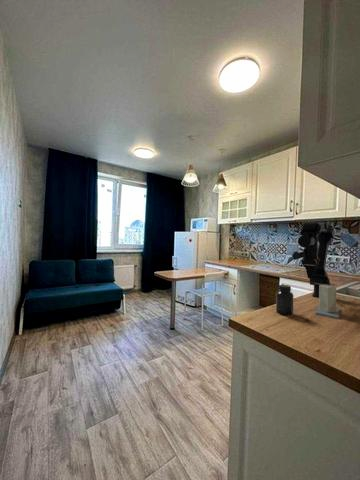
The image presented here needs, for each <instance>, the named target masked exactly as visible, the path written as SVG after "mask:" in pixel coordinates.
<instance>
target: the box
mask: <svg viewBox="0 0 360 480" xmlns="http://www.w3.org/2000/svg"><path fill="white" fill-rule="evenodd" d="M318 300H319V301H318V304H319V309H321V310H323V311H326V312H336V307H337V287H336V286H333V285H331V284H330V285H319V297H318Z"/></svg>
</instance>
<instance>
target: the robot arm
mask: <svg viewBox="0 0 360 480" xmlns="http://www.w3.org/2000/svg"><path fill="white" fill-rule="evenodd" d="M299 235H300V237H299V238H298V240H297V244H298V246H300V247H301V248H303V250H302V251H300V252H299V251H293V253H292V254H291V257H292V259H293V261H296V260H299V259H301V261H300V262H301V263H300V264H301V266H302V267H304V268H305V272H306V275H307V279H309V284H310V286H313V293H312V295H311V296H312V297H314V298H319V285H330V286H331V281H330V278H329V274H328V273H327V270H326V267H327V266H326V265H327V259H328V252H329V246H330V245H331V244H332V243H333V241H334V239H335V238H336V237H335V230H334V228H333V227H331V226H330V225H329V223H328V222H319V221H316V222H315V221H314V222H311V221H310V222H304V223H303V225H302V227H301V230H300V233H299Z"/></svg>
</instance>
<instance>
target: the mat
mask: <svg viewBox="0 0 360 480" xmlns="http://www.w3.org/2000/svg"><path fill="white" fill-rule="evenodd" d="M315 315H318V316H322V317H329V318H331V319H332V318H333V319H337V320H339V319H340V308H339V307H337V306H336V312H326V311H323V310H321V309H319V303H318V305H317V307H316V311H315Z"/></svg>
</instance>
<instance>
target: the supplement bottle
mask: <svg viewBox="0 0 360 480" xmlns="http://www.w3.org/2000/svg"><path fill="white" fill-rule="evenodd" d="M291 287H292V286H291V285H287V284H279V285H278V287H277V288H278V291H277V292H276V293H275V308H276V309H275V311H276V313H278V315H282V316H292V315H294V294H293V292H292V289H291Z"/></svg>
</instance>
